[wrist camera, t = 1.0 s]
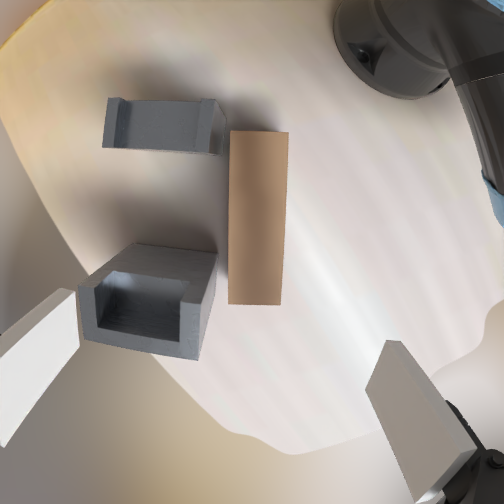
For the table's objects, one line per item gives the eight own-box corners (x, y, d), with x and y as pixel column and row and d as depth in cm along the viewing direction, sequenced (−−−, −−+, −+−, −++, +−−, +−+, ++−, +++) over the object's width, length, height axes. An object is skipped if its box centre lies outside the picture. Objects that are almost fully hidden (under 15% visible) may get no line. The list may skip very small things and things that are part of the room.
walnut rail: (281, 137, 32) (288, 132, 26) (275, 282, 36) (280, 305, 30) (233, 136, 32) (230, 130, 26) (231, 281, 36) (228, 304, 30)
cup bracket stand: (233, 119, 31) (222, 93, 18) (214, 294, 36) (197, 360, 24) (142, 114, 30) (85, 92, 18) (132, 283, 36) (84, 339, 23)
